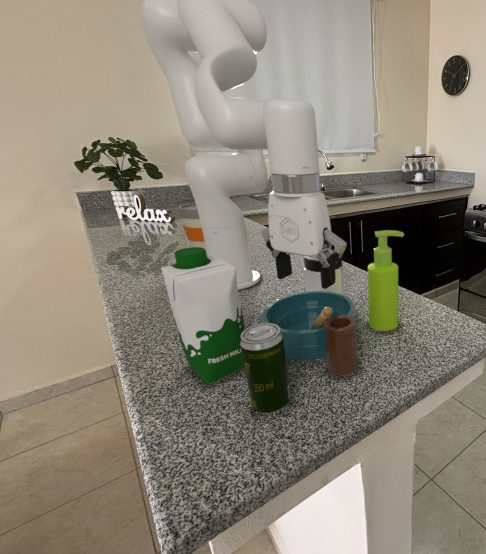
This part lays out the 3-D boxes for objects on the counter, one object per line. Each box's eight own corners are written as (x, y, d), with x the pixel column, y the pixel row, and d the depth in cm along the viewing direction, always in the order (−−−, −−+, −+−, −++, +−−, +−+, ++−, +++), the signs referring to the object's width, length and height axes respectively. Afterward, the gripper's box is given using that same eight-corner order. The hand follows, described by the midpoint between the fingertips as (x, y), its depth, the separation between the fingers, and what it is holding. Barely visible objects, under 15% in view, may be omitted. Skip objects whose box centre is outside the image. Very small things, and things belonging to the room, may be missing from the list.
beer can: (288, 386, 54) (278, 319, 50) (295, 409, 50) (285, 337, 45) (250, 397, 52) (237, 327, 47) (254, 422, 47) (240, 347, 43)
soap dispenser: (404, 331, 70) (406, 235, 63) (370, 334, 69) (367, 236, 61) (400, 317, 75) (401, 227, 68) (368, 319, 74) (365, 228, 67)
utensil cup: (322, 373, 57) (318, 326, 54) (339, 357, 62) (336, 312, 58) (347, 381, 56) (344, 333, 52) (362, 364, 60) (361, 318, 56)
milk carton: (235, 346, 64) (214, 241, 56) (260, 366, 59) (240, 254, 51) (182, 368, 58) (150, 254, 50) (204, 393, 52) (172, 269, 45)
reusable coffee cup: (241, 249, 117) (233, 204, 111) (207, 260, 106) (196, 211, 100) (214, 244, 121) (206, 200, 115) (179, 254, 111) (168, 206, 105)
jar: (313, 315, 75) (308, 263, 71) (302, 301, 82) (296, 252, 77) (351, 306, 80) (349, 256, 75) (338, 293, 86) (335, 246, 82)
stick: (306, 334, 67) (321, 310, 54) (311, 328, 67) (327, 303, 55) (313, 339, 67) (329, 317, 54) (318, 332, 68) (335, 309, 55)
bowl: (246, 348, 63) (240, 319, 61) (305, 310, 78) (302, 285, 75) (321, 372, 58) (318, 341, 55) (370, 326, 72) (370, 300, 69)
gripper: (238, 183, 57) (254, 280, 63) (327, 192, 50) (334, 298, 57) (272, 178, 63) (283, 267, 69) (354, 185, 57) (358, 282, 63)
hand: (306, 281), depth 63 cm, fingers open, 9 cm apart
